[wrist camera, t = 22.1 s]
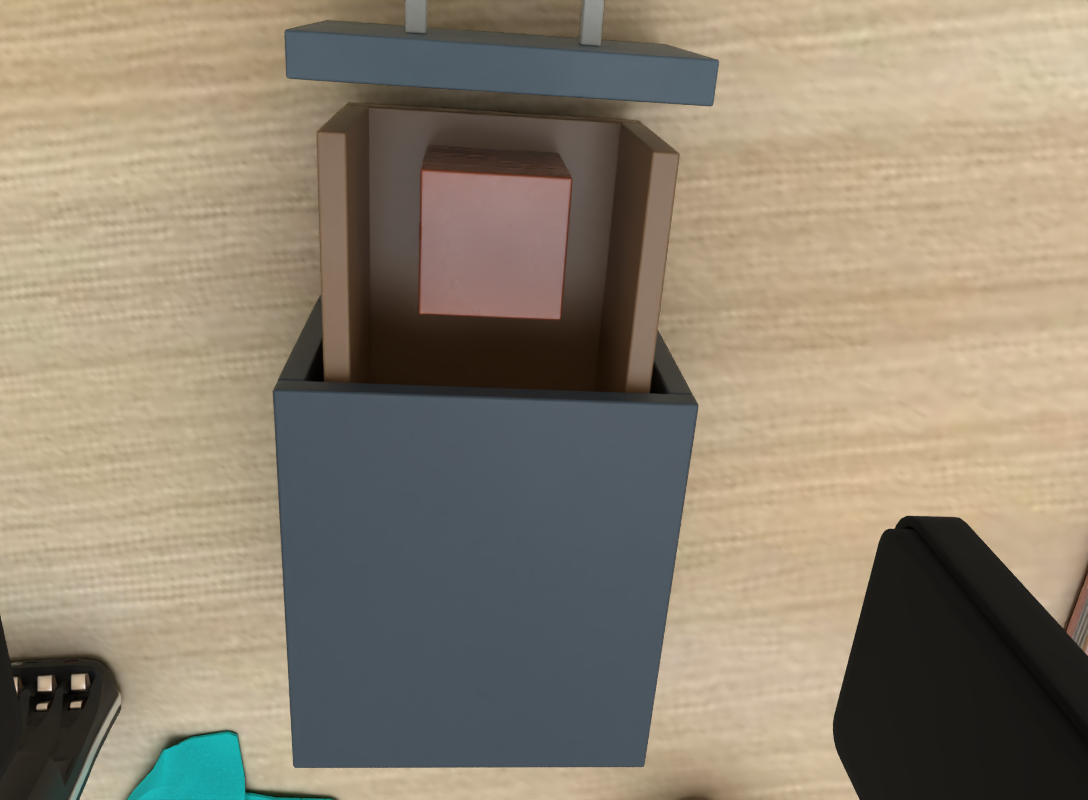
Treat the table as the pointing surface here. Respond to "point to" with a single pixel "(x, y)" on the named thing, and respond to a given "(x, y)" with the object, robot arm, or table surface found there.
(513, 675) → the cabinet
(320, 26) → the drawer
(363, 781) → the table surface
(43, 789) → the battery charger
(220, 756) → the cloth
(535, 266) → the block
